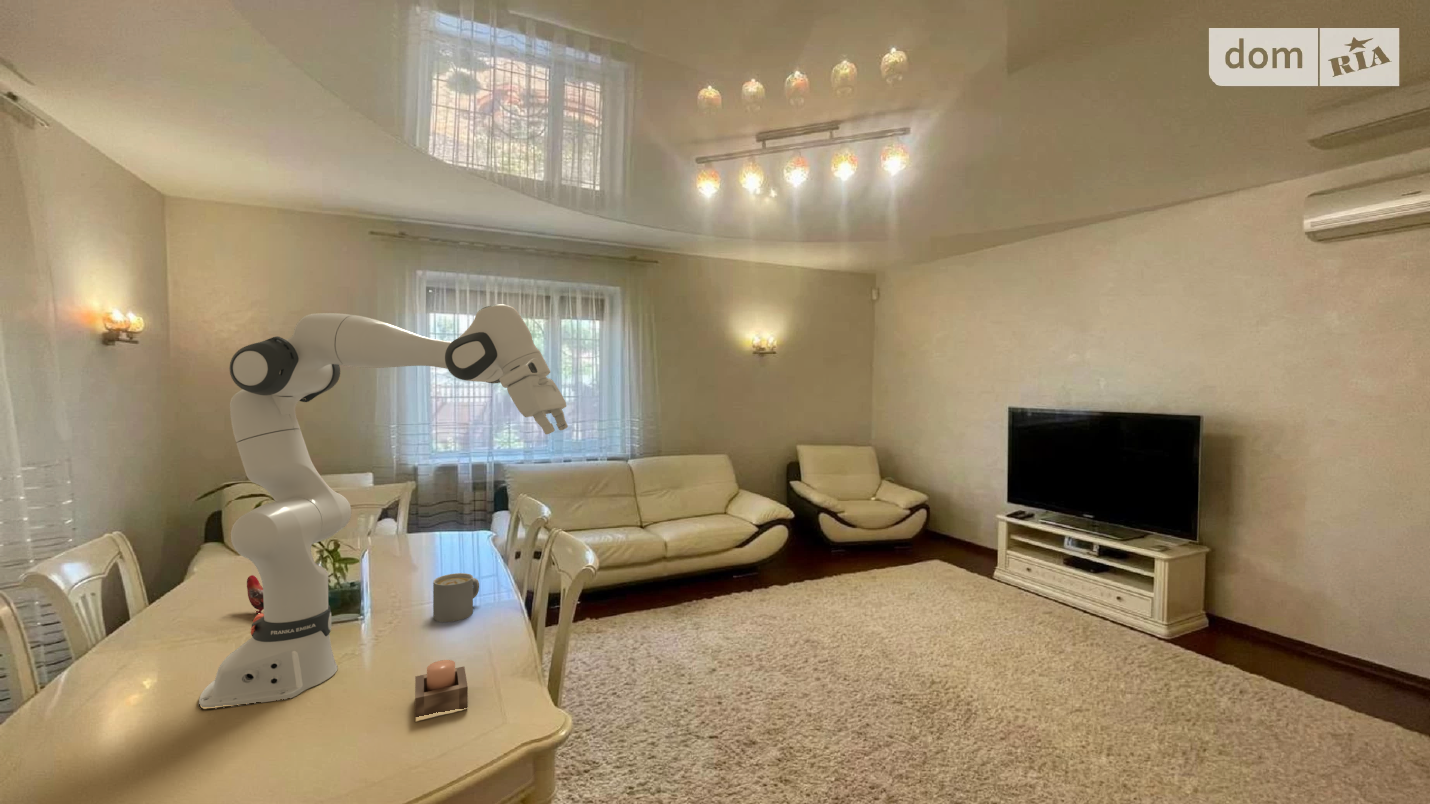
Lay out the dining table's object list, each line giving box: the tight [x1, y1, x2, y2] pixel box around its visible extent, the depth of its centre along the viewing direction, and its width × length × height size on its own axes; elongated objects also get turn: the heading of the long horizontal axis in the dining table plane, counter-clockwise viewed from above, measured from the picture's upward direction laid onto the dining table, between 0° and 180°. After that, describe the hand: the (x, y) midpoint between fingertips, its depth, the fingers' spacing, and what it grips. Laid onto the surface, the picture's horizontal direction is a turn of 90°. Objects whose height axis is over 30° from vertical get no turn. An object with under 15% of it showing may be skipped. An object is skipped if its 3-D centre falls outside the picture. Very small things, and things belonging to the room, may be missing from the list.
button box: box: [414, 666, 469, 718], centre depth 109 cm, size 9×9×4 cm
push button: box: [426, 659, 456, 691], centre depth 109 cm, size 5×5×4 cm
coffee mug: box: [432, 572, 480, 623], centre depth 154 cm, size 13×10×10 cm
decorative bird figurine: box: [246, 574, 264, 614], centre depth 151 cm, size 3×18×10 cm, turn 59°
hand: (557, 431), depth 118 cm, fingers open, 8 cm apart
